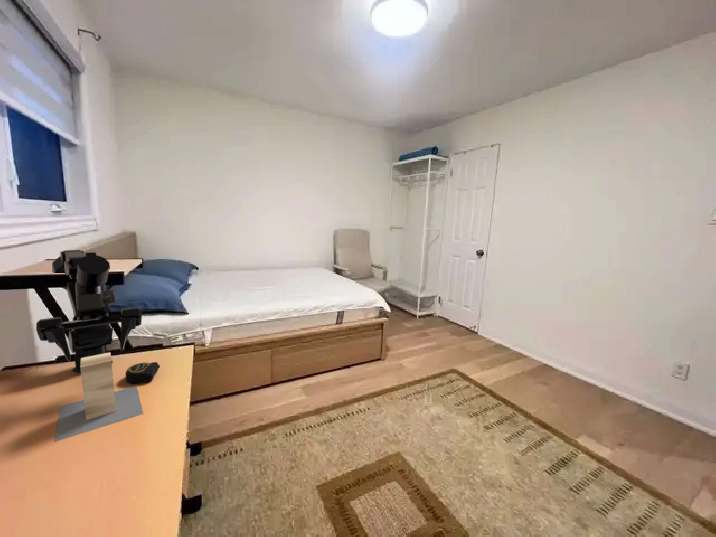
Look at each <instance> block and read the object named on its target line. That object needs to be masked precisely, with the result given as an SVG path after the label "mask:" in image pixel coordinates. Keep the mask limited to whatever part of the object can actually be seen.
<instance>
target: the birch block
mask: <svg viewBox="0 0 716 537" xmlns="http://www.w3.org/2000/svg"><path fill="white" fill-rule="evenodd" d="M111 360H112V355H111V352H107V353H105V354H99V355H94V356H89V357H84V358H81V364H80V370H81V372H80V376H81V384H82V385H81V386H82V394H83V400H84V404H85V413H86V420H88V419H92V418H95V417H98V416H102V415H105V414H109V413H112V412H115V411H116V403H115V393H114V392H115V384H114V376H113V375H114V374H113V373H114V372H113V365H112V363H113V362H111Z"/></svg>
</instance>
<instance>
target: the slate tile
mask: <svg viewBox="0 0 716 537" xmlns="http://www.w3.org/2000/svg"><path fill="white" fill-rule="evenodd" d="M114 393H115V403H116V411H115V412H112V413H109V414H105V415H102V416H98V417H95V418H92V419H88V420H86V413H85V404H84V399H81V400H78V401H75V402H70V403H66V404H63V405H59V406H60V407H59V412H58V418H57V425H56V431H55V432H56V433H55V439H54V442H59V441H62V440H64V439H69V438H72V437H74V436H77V435H80V434H81V435H82V434H85V433H88V432H90V431H93V430H98V429H99V428H103V427H106V426H109V425H113V424H116V423H119V422H122V421H125V420H129V419H133V418H135V417H138V416H141V415H144V411H143V408H142V404H141V400H140V395H139V391H138V386H137V385H135V386H132V387H126V388H124V389H119V390H116V391H115V390H114Z"/></svg>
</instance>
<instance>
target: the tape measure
mask: <svg viewBox="0 0 716 537" xmlns="http://www.w3.org/2000/svg"><path fill="white" fill-rule="evenodd" d="M160 368H161V364H159V363H158V362H157V361H154V362H139V363H135V364H133V365H131V366H129V367H128V368H127V369H126V370H125V381H126V382H127V383H128V384H130V385H140V384H144V383H148V382H152V381H153V380H154V378H155V376H156V374H157V372H158V371H159V369H160Z"/></svg>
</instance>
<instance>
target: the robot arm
mask: <svg viewBox="0 0 716 537" xmlns="http://www.w3.org/2000/svg"><path fill="white" fill-rule="evenodd" d="M59 255H60V256H59V257H57V258H55V260H53V261H52V263H51V273H52V272H53V273H65V274H66V275H69V277H70V279H77V281H76V283H75V286H74V285H73V283H72V282H67V286H68V287H60V288H61V289H64V290H66V292H67V295H68V296H67V297H68V299H69V301H70V306H71V308H72V311H73V315H74V316H73V318H72V320H71V321H64V322H63V319H62V317H61V316H55V317H48V318H47V317H46V318H40V319H39V320H38V321H37V322H36V325H35V327H36V328H35V330H36V333H37V336H38V338H39V340H40V341H42V342H48V343H50V344H52V343H53V344H54V343H55V344H56V346H58V347H59V349H60V350H61V352H62V353H63V355H64V357H65V358H66V360H67V362H71V361H72V359H71V354H74V353H75V356H74V362H75V363H74V364H75V365H74V366H75V367H73V368H72V369H71V371H72V372H80V373H81V370H80V364H81V358H84V357H89V356H94V355H99V354H105V353H108V350H107V346H109V345H112V343H113V340H114V339H113V335H114V334H113V333H114V329H113V327H111V325H112V324H117V323H118V324H119V323H120V340H119V348H120V349H119V350H120V352H124V348H125V344H126V342H127V339H128V336H129V334H130V333H131V331H132V330H136V328H137V327H139V326H141V325H142V319H143V318H142V317H143V312H142V309H141V308H140V307H138V306H134V307H128V308H127V307H126V308H121V310H120V311H121V313H120V314H114V315H109V305H115V304H116V299H115V298H116V297H115V289H110V290H109V289H108V290H106V283H107V281H108V277H109V276H108V275H109V272H110V270H111V266H110V265H111V264H110V262H109V261H108V260H107V258H105V257H103V256H100V255H97V252H94V251H93V252H91V251H90V252H84V250H81V249H73V250H72V249H68V250H67V249H65V250H62V251H60V252H59ZM66 331H68V333H69V334H68V341H67V337H66V333H65V332H66ZM70 352H71V353H70ZM111 362H112V363H113V362H114V361H113V360H112V359H111Z"/></svg>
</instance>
